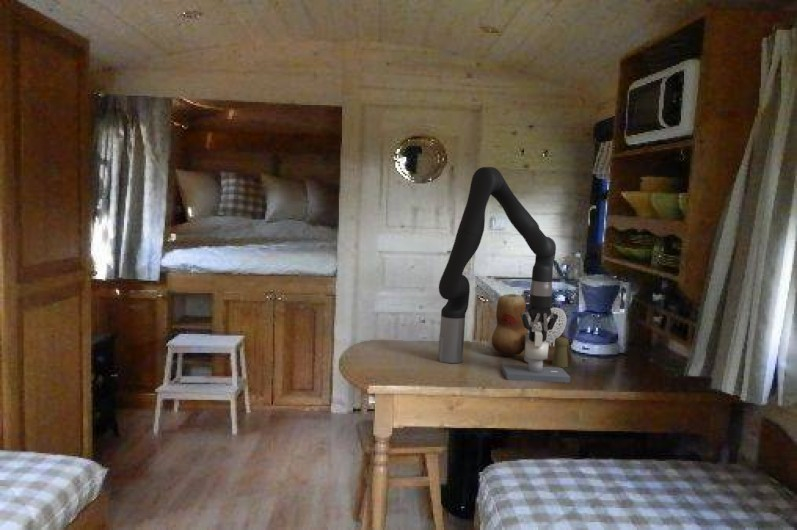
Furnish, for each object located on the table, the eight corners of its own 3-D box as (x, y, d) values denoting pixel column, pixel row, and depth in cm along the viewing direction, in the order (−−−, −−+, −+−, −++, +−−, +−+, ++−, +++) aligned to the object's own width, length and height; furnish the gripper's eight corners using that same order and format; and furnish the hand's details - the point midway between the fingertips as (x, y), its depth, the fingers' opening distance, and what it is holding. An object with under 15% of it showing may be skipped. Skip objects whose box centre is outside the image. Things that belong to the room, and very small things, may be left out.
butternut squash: (487, 357, 243) (491, 295, 240) (494, 350, 255) (498, 290, 252) (522, 362, 238) (527, 298, 235) (528, 354, 250) (532, 294, 248)
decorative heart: (559, 343, 272) (562, 305, 270) (568, 349, 261) (572, 310, 260) (520, 343, 270) (522, 304, 268) (528, 349, 259) (531, 309, 257)
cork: (568, 368, 232) (570, 340, 231) (551, 366, 233) (554, 338, 232) (567, 364, 238) (569, 336, 237) (551, 362, 239) (553, 335, 238)
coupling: (548, 361, 214) (550, 335, 213) (525, 359, 215) (527, 334, 214) (546, 353, 224) (548, 329, 223) (523, 351, 225) (525, 327, 224)
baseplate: (506, 379, 214) (508, 360, 213) (501, 369, 226) (502, 351, 225) (569, 382, 214) (571, 363, 213) (561, 372, 226) (562, 354, 225)
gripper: (526, 295, 211) (522, 344, 213) (564, 295, 214) (560, 343, 216) (517, 291, 219) (514, 338, 221) (554, 292, 221) (551, 338, 223)
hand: (537, 341), depth 218 cm, fingers closed on coupling, 3 cm apart
